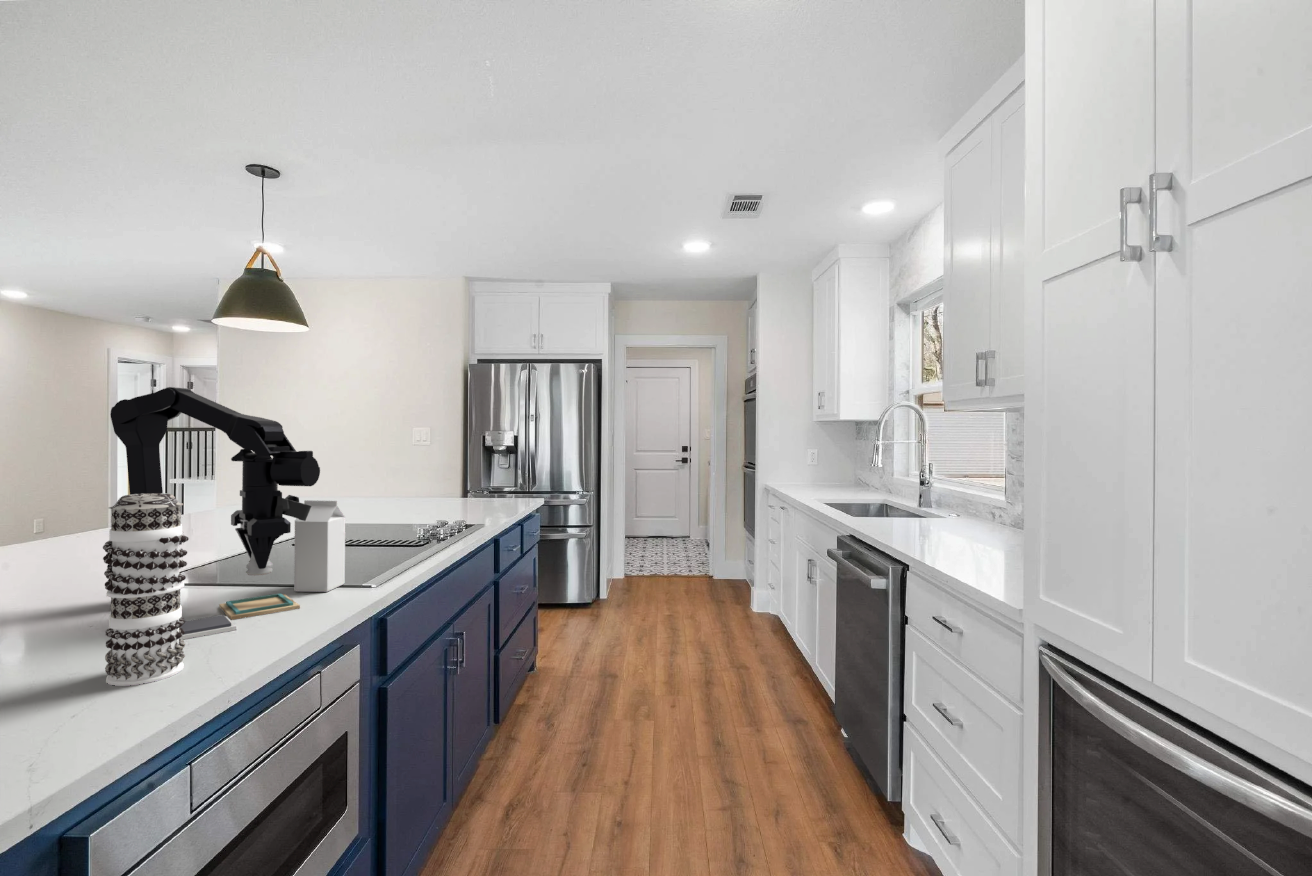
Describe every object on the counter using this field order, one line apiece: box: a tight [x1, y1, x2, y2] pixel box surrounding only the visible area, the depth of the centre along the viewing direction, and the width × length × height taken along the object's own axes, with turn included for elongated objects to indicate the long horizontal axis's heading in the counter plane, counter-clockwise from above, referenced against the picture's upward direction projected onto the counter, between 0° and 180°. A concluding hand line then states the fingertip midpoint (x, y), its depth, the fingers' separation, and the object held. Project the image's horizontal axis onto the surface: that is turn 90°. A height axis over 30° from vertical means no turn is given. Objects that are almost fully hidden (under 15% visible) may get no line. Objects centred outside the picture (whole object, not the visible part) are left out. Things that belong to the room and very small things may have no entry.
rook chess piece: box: [245, 554, 274, 577], centre depth 118 cm, size 4×4×8 cm
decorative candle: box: [102, 493, 190, 687], centre depth 86 cm, size 9×9×25 cm
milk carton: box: [293, 500, 346, 593], centre depth 133 cm, size 7×7×19 cm
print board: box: [218, 592, 301, 621], centre depth 118 cm, size 11×11×1 cm
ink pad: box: [180, 614, 237, 641], centre depth 105 cm, size 8×8×1 cm
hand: (259, 566), depth 118 cm, fingers closed on rook chess piece, 4 cm apart
